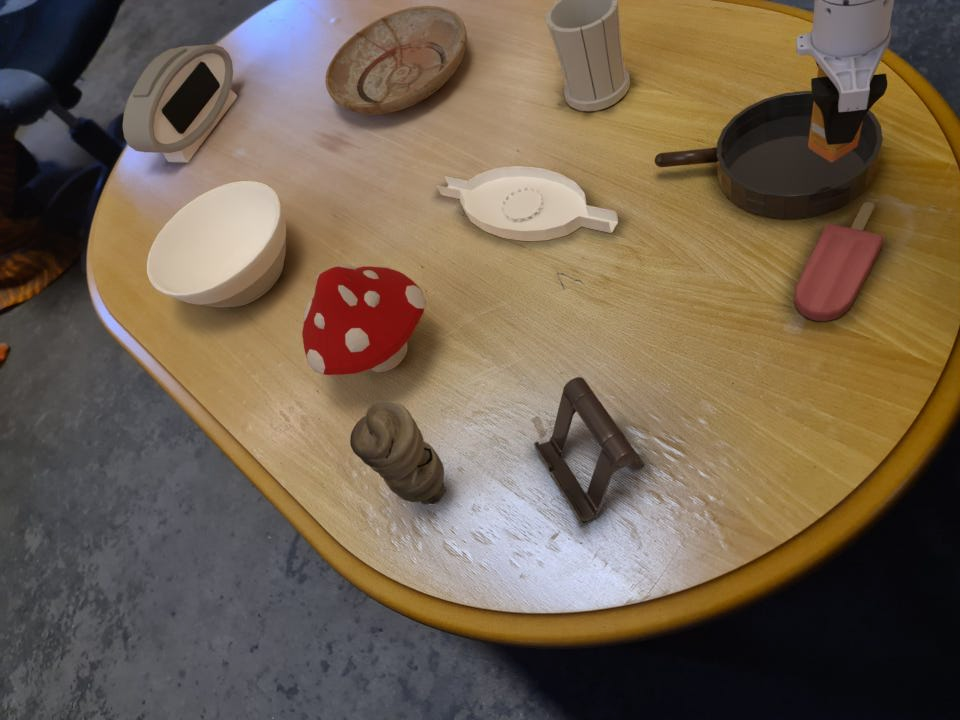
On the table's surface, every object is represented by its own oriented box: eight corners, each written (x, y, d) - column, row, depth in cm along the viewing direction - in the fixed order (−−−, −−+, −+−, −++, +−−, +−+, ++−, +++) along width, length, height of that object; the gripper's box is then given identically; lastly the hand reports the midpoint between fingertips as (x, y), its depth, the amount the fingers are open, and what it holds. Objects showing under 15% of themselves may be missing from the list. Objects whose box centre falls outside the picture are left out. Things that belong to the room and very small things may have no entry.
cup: (545, 113, 95) (523, 33, 85) (566, 70, 99) (547, -11, 89) (620, 113, 90) (605, 29, 81) (639, 68, 94) (627, -18, 84)
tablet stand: (536, 452, 67) (514, 410, 61) (607, 411, 67) (591, 365, 61) (581, 527, 62) (562, 490, 55) (658, 482, 62) (647, 440, 55)
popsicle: (900, 203, 68) (844, 319, 63) (897, 214, 69) (842, 329, 64) (842, 192, 71) (784, 303, 66) (840, 203, 72) (783, 312, 67)
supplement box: (833, 165, 66) (844, 75, 58) (806, 148, 68) (814, 59, 60) (861, 147, 66) (877, 55, 58) (834, 131, 68) (846, 39, 60)
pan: (871, 108, 78) (875, 82, 75) (883, 214, 70) (889, 189, 67) (719, 125, 83) (718, 101, 81) (715, 224, 75) (714, 201, 73)
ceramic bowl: (311, 121, 112) (295, 95, 108) (391, 29, 120) (379, 2, 116) (422, 140, 100) (408, 112, 96) (502, 37, 108) (493, 7, 104)
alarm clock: (180, 176, 115) (126, 114, 105) (155, 175, 118) (100, 114, 108) (250, 84, 125) (206, 18, 115) (225, 85, 128) (180, 21, 118)
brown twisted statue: (442, 457, 70) (380, 381, 58) (476, 491, 67) (418, 418, 55) (401, 497, 69) (329, 427, 57) (433, 533, 66) (364, 468, 54)
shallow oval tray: (464, 163, 94) (460, 153, 93) (634, 195, 81) (632, 184, 80) (424, 218, 91) (419, 208, 89) (594, 261, 78) (591, 250, 76)
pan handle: (724, 154, 78) (724, 143, 77) (724, 164, 77) (724, 153, 76) (655, 161, 81) (654, 150, 80) (654, 170, 80) (653, 160, 79)
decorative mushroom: (449, 297, 82) (398, 206, 70) (448, 396, 74) (391, 314, 62) (341, 321, 85) (275, 238, 73) (329, 419, 77) (253, 344, 65)
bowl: (168, 284, 100) (128, 246, 93) (276, 203, 103) (245, 160, 96) (216, 359, 88) (173, 322, 82) (336, 265, 91) (305, 221, 84)
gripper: (797, -57, 59) (789, 79, 70) (802, 49, 52) (793, 182, 63) (891, -75, 57) (868, 69, 68) (911, 33, 50) (882, 175, 60)
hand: (837, 123), depth 65 cm, fingers closed on supplement box, 4 cm apart
